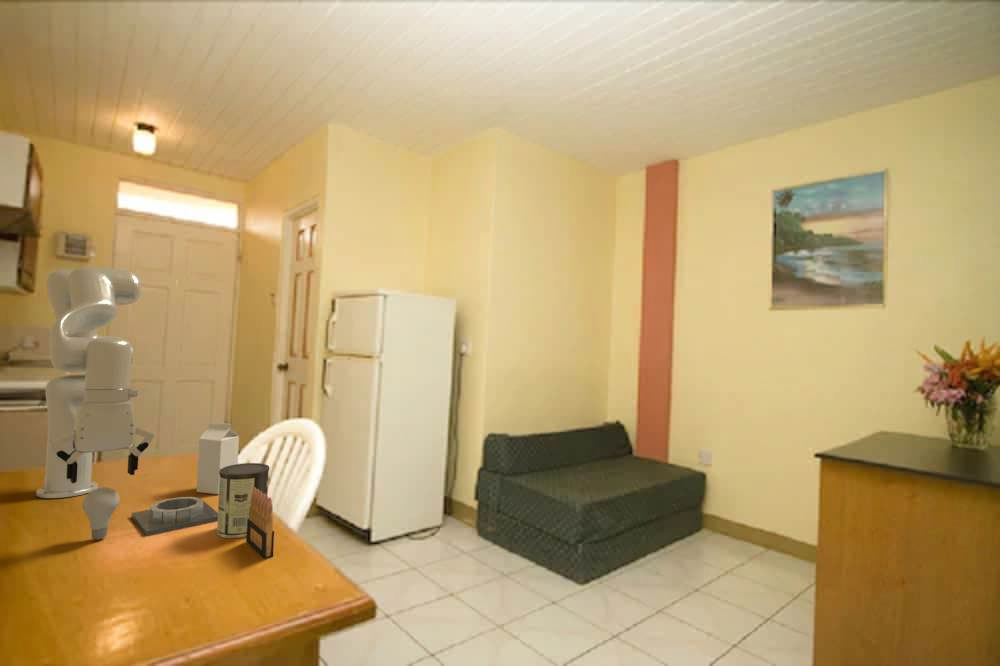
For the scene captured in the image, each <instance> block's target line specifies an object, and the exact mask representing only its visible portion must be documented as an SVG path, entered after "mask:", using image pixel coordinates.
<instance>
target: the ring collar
mask: <svg viewBox="0 0 1000 666" xmlns="http://www.w3.org/2000/svg"><path fill="white" fill-rule="evenodd" d="M131 519H132V520H133V522H135V524H136V525H137V526H138V528H139V530H141V531H142V533H143V534H144V536H145V537H148V536H154V535H158V534H163V533H168V532H172V531H177V530H182V529H185V528H191V527H195V526H196V527H197V526H201V525H204V524H205V525H206V524H210V523H214V522H218V511H216V509H214V508H213V507H211V506H210V505H209V504H208V503H206V502H205V501H204V500H203V499H201V497H196V496H195V497H194V496H179V497H172V498H166V499H163V500H160V501H157V502H154V503H153V504H152V505H150V506H149V509H146V510H141V511H136V512H132V513H131Z"/></svg>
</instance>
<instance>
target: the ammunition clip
mask: <svg viewBox="0 0 1000 666" xmlns="http://www.w3.org/2000/svg"><path fill="white" fill-rule="evenodd" d="M273 513H274V512H273V500H272V497H269V496H268V495H266V496H265V494H264V493H263V494H262V492H261V491H260V492H259V489H257V490H256V487H254V489H253V491H252V496H251V505H250V511H249V519H248V522H247V537H245V538H246V539H245V542H247V543H248V544H249V545H248V544H247V543H246V544H247V545H248V546H250V548H252V549H253V551H255V553H257V554H258V555H259V556H260V557H261V558H262V559H267V558H272V557H274V548H275V547H274V546H275V545H274V544H275V541H274V540H275V530H273V528H274V515H273Z"/></svg>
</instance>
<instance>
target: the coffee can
mask: <svg viewBox="0 0 1000 666" xmlns="http://www.w3.org/2000/svg"><path fill="white" fill-rule="evenodd" d="M269 472H270V466H269V465H267V464H265V463H261V462H260V463H258V462H257V463H256V462H251V463H250V462H247V463H238V464H235V465H230V466H227V467H224V468H222V469H220V470H219V474H220V481H219V494H218V504H217V505H218V509H217V513H218V521H217V526H216V527H217V528H216V534H217V536H219V537H221V538H224V539H225V538H226V539H242V538H246V537H247V522H248V519H249V511H250V505H251V496H252V491H253V489H254V487H256V490H257V489H259V492H260V491H261V492H262V494H263V493H264V494H265V496H266V495H267V496H268V494H269V493H268V491H269V474H270V473H269Z"/></svg>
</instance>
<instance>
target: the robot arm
mask: <svg viewBox="0 0 1000 666" xmlns="http://www.w3.org/2000/svg"><path fill="white" fill-rule="evenodd" d="M46 292H47V296H48V299H49V300H48V301H49V302H50V305H51V307H52V309H53V311H54V314H55V319H56V320H55V321H54V322H53V324H52V326H51V327H50V330H49V335H48V345H49V347H48V348H49V359H50V362H51V365H52V366H53V367H54V369H56V370H58V371H60V372H64V373H66V372H67V373H69V372H70V373H77V372H78V373H80V372H81V373H82V372H84V373H85V374H65V375H64V374H63V375H59V376H56V377H54V378H51V379H50V380H49V381H48V382H47V384H46V385H45V391H44V393H45V399H46V407H47V440H46V455H45V456H46V457H45V458H46V459H45V471H44V474H45V475H44V486H42V487H39V488H38V489H37V490H36V493H35V496H36V497H38V498H41V499H63V498H69V497H77V496H80V495H85V494H86V495H87V494H88V493H90V492H91V491H93V490H95V489H97V488H99V483H98V482H96V481H93V480H92V473H93V472H92V470H93V469H92V467H93V453H98V452H99V453H100V452H110V451H117V450H118V451H119V450H125V449H127V450H128V451H129V452H130V453H129V455H128V457H127V460H128V461H127V473H128V475H130V476H134V475H135V471H138V467H139V457H140V456H141V453H143V452H144V451H145V450H146V449H148V447H149V445H150V444H151V443H152V441H153V439H154V438H155V433H152V432H150V431H147V430H143V429H141V428H138V427H136V419H135V409H134V404H133V402H132V401H131V399H132V398H135V397H138V390H134V389H131V387H130V385H131V365H132V363H133V361H134V357H135V356H134V347H133V346H132V344H131V342H129V340H126V339H125V338H123V337H120V336H115V335H98V329H100V328H103V327H105V326H107V325H109V324H111V323H112V322H114V321H115V320H116V318H117V316H118V307H117V306H126V305H132V304H134V303H136V302H137V301H138V300H139V298H140V297H141V293H142V284H141V281H140V278H139V277H138V276H137V274H136V273H135V272H133V271H130V270H125V269H120V268H119V269H116V268H107V267H100V266H82V267H81V266H80V267H77V268H75V269H58V270H54V271H52V272H50V273H49V274H48V275H47V278H46ZM136 435H137V436H139V437H142V438H143V441H142V442H141V443H139V444H138V445H137V446H135V443H136Z"/></svg>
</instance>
